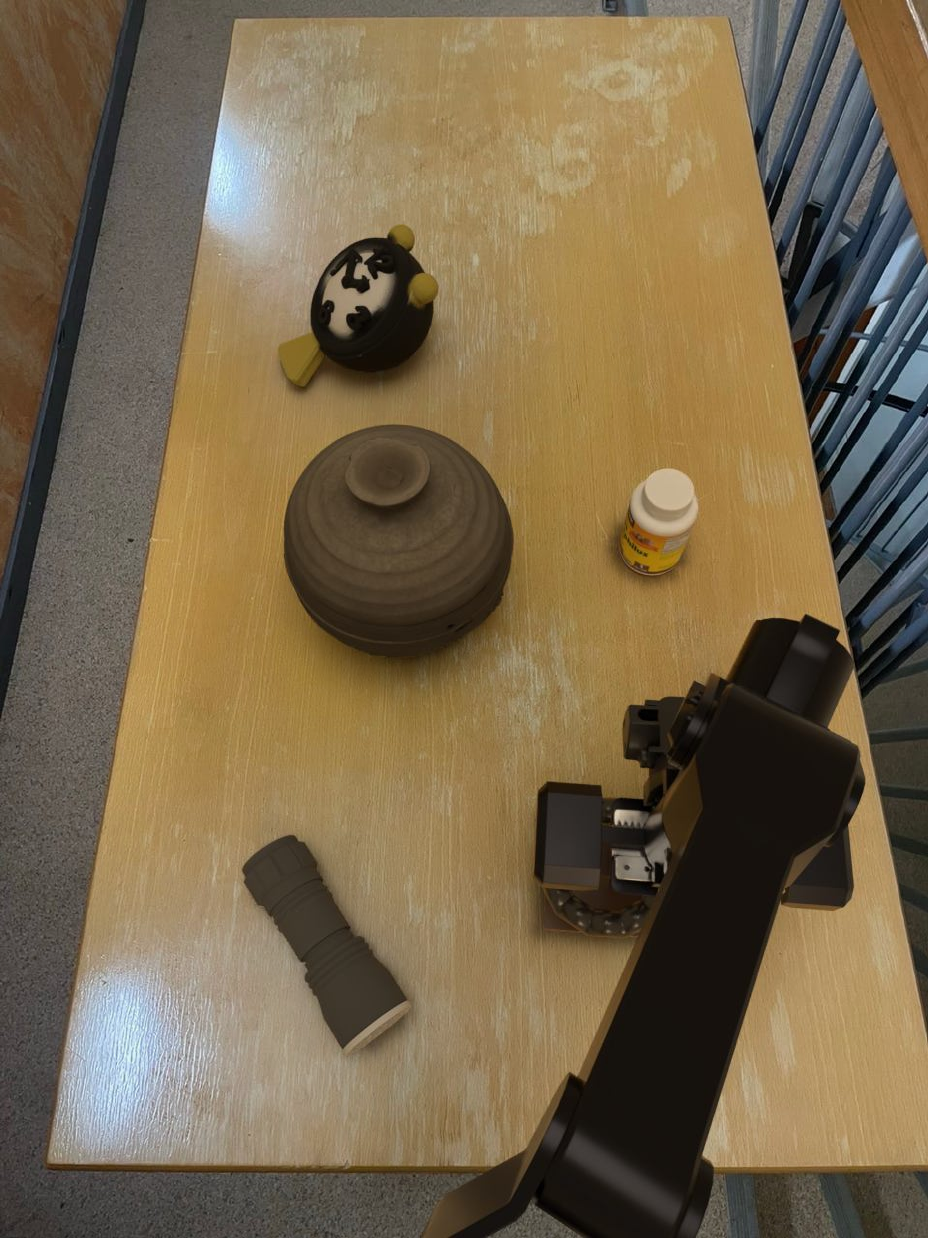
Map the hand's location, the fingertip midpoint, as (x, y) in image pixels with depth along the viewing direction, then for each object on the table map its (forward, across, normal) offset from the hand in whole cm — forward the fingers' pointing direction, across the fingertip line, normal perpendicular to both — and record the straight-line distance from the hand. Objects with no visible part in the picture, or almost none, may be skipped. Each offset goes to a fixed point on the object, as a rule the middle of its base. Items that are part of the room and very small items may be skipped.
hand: (664, 868), depth 64 cm
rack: (+7, +4, 0) cm, 8 cm away
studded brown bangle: (+1, +4, 0) cm, 4 cm away
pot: (+7, +21, -23) cm, 32 cm away
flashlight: (+7, +24, +6) cm, 26 cm away
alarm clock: (+7, +28, -50) cm, 58 cm away
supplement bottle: (+7, 0, -29) cm, 30 cm away
